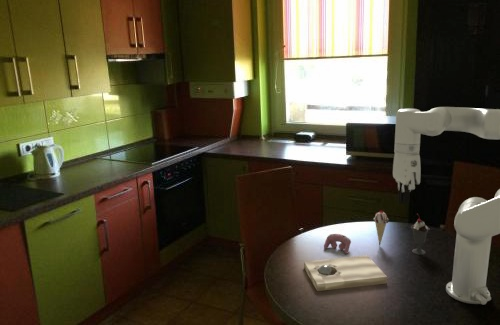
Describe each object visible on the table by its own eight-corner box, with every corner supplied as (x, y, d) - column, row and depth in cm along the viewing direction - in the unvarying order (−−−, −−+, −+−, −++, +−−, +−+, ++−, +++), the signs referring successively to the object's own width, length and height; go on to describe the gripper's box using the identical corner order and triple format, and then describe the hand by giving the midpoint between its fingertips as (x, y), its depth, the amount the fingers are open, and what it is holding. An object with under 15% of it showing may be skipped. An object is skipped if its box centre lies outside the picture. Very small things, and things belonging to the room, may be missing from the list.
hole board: (386, 283, 147) (386, 276, 146) (317, 291, 144) (317, 284, 143) (367, 261, 162) (367, 255, 162) (304, 267, 159) (304, 261, 158)
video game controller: (350, 254, 171) (352, 236, 173) (346, 254, 168) (349, 235, 169) (326, 249, 176) (329, 232, 177) (322, 249, 172) (325, 231, 174)
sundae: (412, 246, 173) (415, 210, 169) (430, 251, 169) (433, 214, 165) (406, 252, 168) (408, 216, 164) (424, 257, 164) (427, 220, 160)
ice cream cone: (389, 245, 174) (391, 210, 171) (383, 250, 170) (384, 214, 167) (376, 241, 178) (378, 207, 175) (369, 246, 174) (371, 211, 170)
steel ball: (321, 280, 153) (332, 274, 154) (323, 281, 149) (335, 275, 149) (315, 268, 154) (326, 262, 154) (317, 268, 149) (329, 262, 150)
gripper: (430, 152, 133) (426, 209, 137) (406, 142, 147) (403, 194, 152) (407, 154, 132) (404, 211, 136) (385, 143, 146) (382, 196, 151)
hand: (403, 202), depth 144 cm, fingers closed
